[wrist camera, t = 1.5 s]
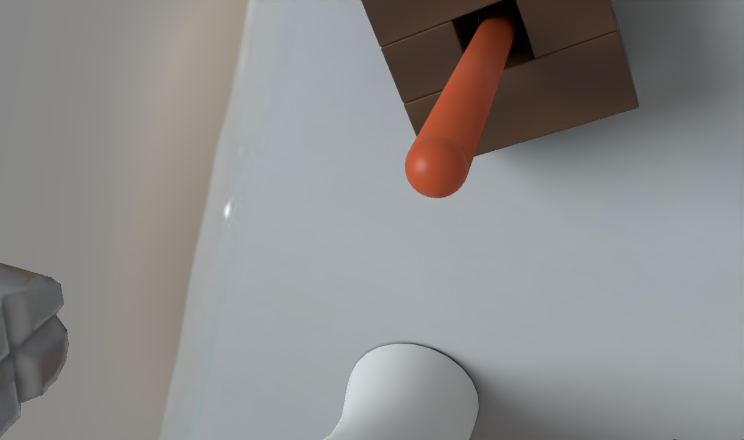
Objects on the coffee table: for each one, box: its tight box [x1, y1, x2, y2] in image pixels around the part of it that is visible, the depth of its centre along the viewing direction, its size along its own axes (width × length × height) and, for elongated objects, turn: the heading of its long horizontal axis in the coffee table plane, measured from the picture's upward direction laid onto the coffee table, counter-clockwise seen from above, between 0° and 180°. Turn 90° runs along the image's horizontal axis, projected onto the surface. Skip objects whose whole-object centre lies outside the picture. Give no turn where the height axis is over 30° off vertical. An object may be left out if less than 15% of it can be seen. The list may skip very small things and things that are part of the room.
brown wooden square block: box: [361, 0, 639, 156], centre depth 28 cm, size 8×8×5 cm
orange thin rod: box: [405, 0, 521, 198], centre depth 23 cm, size 1×1×18 cm
